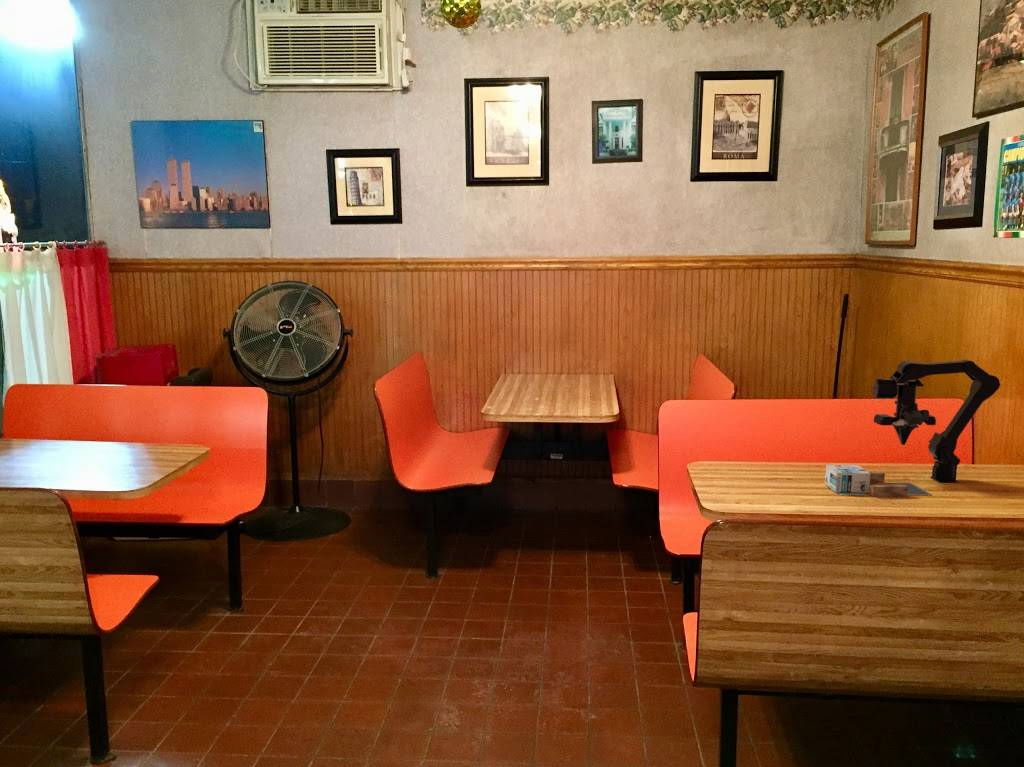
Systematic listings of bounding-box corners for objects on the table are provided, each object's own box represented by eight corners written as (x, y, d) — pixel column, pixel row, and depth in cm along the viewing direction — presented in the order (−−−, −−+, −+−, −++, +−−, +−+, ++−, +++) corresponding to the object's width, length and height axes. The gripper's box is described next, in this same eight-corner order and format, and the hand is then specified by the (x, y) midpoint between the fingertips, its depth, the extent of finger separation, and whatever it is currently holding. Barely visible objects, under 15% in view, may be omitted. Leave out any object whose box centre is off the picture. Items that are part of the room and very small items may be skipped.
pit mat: (910, 483, 282) (910, 482, 282) (932, 495, 268) (932, 494, 268) (886, 483, 282) (887, 482, 282) (907, 495, 268) (907, 494, 268)
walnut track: (881, 481, 284) (882, 471, 283) (907, 497, 266) (908, 486, 266) (848, 482, 283) (849, 472, 283) (872, 497, 266) (873, 486, 265)
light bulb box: (871, 473, 268) (837, 472, 269) (869, 493, 270) (835, 492, 270) (858, 464, 279) (825, 464, 279) (856, 484, 280) (824, 483, 280)
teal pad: (849, 484, 281) (849, 483, 281) (866, 495, 268) (866, 494, 268) (825, 484, 281) (825, 483, 281) (841, 495, 268) (841, 494, 268)
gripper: (890, 403, 274) (886, 450, 277) (946, 403, 275) (942, 450, 277) (874, 397, 285) (871, 442, 288) (929, 397, 286) (925, 442, 288)
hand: (902, 444), depth 285 cm, fingers closed
